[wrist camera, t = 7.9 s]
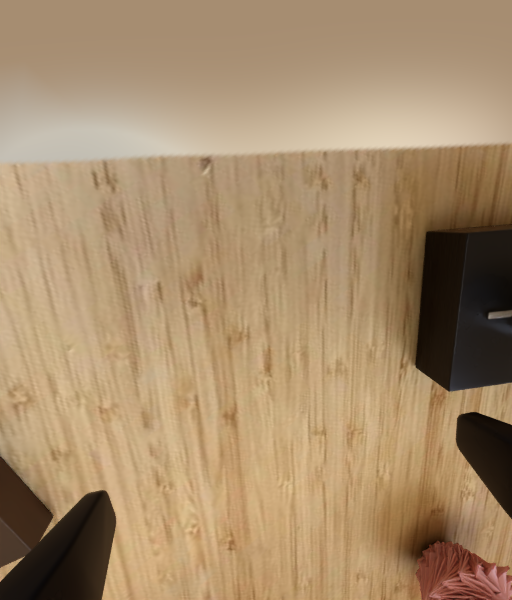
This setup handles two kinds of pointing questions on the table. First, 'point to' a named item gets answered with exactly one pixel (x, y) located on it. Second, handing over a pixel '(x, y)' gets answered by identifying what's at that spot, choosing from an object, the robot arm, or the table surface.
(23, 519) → the button block
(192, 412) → the table surface
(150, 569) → the table surface
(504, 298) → the panel
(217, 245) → the table surface
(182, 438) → the table surface
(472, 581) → the flower
